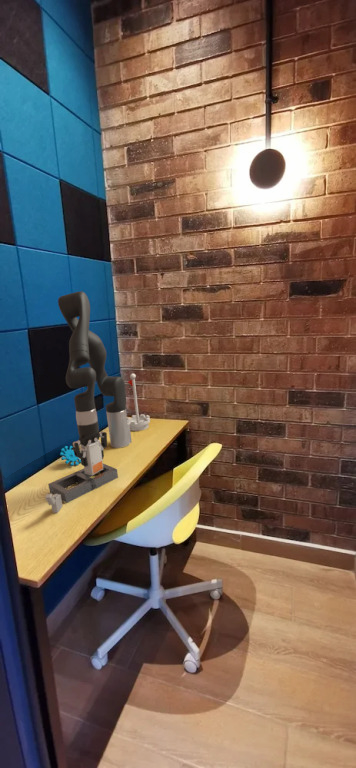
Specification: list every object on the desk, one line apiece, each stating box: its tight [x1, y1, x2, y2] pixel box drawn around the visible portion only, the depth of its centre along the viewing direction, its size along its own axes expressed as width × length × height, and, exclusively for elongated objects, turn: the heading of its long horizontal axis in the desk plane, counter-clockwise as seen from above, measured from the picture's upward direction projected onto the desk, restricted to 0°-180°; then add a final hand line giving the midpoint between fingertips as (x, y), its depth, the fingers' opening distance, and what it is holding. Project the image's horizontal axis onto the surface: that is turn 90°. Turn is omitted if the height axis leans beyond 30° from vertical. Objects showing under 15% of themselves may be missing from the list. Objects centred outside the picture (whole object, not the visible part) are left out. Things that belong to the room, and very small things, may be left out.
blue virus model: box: [59, 445, 81, 467], centre depth 152 cm, size 11×6×10 cm
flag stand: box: [127, 373, 151, 432], centre depth 188 cm, size 13×13×30 cm
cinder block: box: [48, 463, 119, 504], centre depth 131 cm, size 22×12×4 cm, turn 137°
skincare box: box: [80, 439, 104, 477], centre depth 133 cm, size 6×4×12 cm
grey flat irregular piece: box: [44, 493, 63, 514], centre depth 114 cm, size 7×2×8 cm, turn 175°
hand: (93, 462), depth 133 cm, fingers closed on skincare box, 6 cm apart
